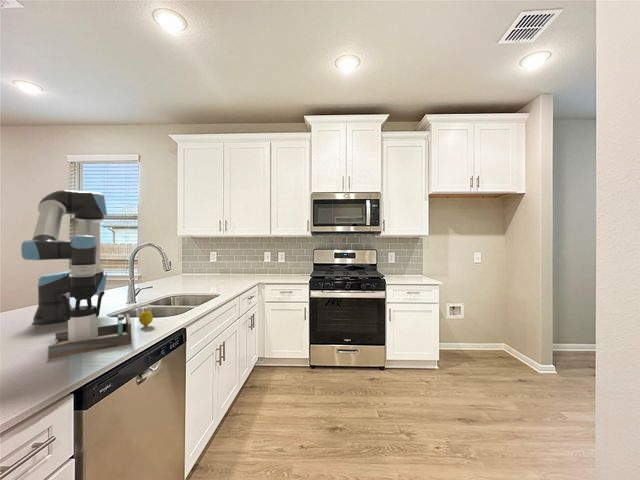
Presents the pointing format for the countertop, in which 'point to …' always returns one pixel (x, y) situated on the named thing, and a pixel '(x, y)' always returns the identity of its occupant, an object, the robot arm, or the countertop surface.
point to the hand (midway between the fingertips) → (83, 336)
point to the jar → (82, 324)
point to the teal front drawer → (91, 340)
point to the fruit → (146, 318)
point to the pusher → (120, 323)
